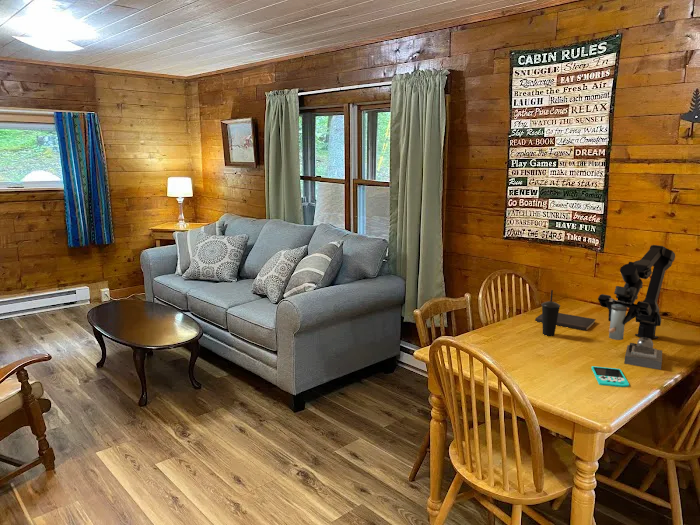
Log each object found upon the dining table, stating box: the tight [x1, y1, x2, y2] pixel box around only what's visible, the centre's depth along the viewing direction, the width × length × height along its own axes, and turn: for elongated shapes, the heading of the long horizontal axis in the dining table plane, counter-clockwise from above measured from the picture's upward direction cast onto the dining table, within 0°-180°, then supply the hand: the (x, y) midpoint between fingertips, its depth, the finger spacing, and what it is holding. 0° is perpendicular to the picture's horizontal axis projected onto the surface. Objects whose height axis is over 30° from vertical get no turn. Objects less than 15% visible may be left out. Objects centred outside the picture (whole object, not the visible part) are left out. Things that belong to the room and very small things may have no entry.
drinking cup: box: [541, 289, 561, 337], centre depth 234 cm, size 8×8×20 cm
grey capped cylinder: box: [608, 304, 628, 341], centre depth 208 cm, size 8×5×13 cm, turn 131°
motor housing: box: [623, 337, 663, 371], centre depth 208 cm, size 20×12×6 cm, turn 150°
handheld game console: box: [591, 365, 630, 388], centre depth 190 cm, size 10×16×1 cm, turn 165°
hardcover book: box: [534, 312, 596, 332], centre depth 254 cm, size 16×23×2 cm
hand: (616, 322), depth 208 cm, fingers closed on grey capped cylinder, 5 cm apart
